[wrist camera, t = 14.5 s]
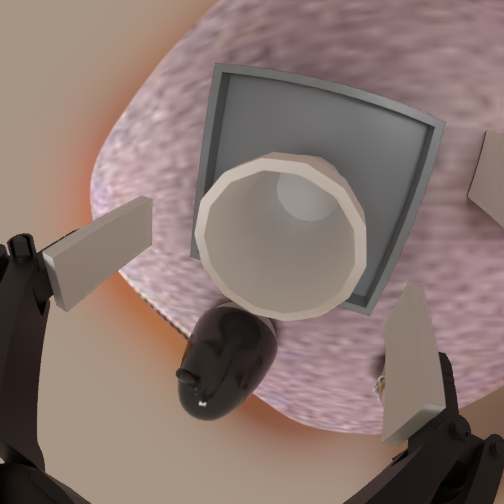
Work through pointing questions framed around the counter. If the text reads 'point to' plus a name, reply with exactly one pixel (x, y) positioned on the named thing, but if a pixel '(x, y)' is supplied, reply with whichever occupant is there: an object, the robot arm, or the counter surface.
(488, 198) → the milk carton
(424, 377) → the robot arm
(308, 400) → the counter surface
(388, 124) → the tray
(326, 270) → the foam cup
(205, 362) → the pump dispenser
